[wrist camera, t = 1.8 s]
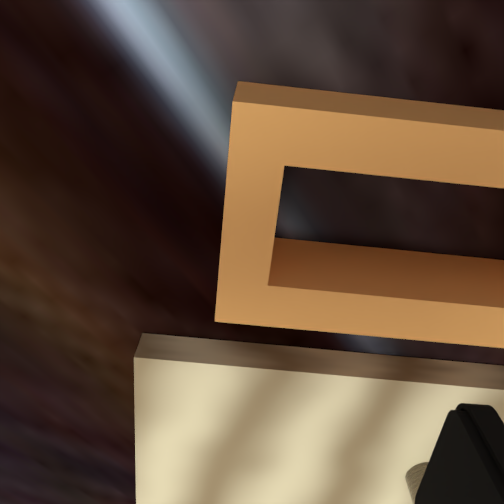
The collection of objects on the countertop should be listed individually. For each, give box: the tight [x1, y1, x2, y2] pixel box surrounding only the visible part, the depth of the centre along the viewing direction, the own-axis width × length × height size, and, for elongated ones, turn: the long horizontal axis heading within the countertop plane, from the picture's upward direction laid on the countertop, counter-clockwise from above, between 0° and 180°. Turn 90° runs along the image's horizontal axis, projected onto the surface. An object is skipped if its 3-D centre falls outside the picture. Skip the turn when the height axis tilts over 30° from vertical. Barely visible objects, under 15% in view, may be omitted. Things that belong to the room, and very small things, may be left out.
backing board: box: [134, 333, 504, 504], centre depth 29 cm, size 26×16×2 cm, turn 84°
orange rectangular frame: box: [215, 81, 504, 348], centre depth 20 cm, size 16×9×4 cm, turn 84°
